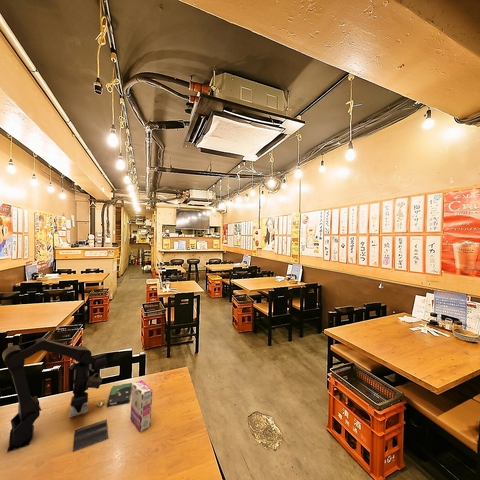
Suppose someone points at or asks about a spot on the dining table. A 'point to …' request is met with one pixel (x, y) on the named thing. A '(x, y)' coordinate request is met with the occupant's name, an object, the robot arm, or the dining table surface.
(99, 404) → the brass bushing
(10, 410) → the dining table surface
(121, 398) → the disk drive
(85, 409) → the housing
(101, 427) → the stand
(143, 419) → the candy bar box
